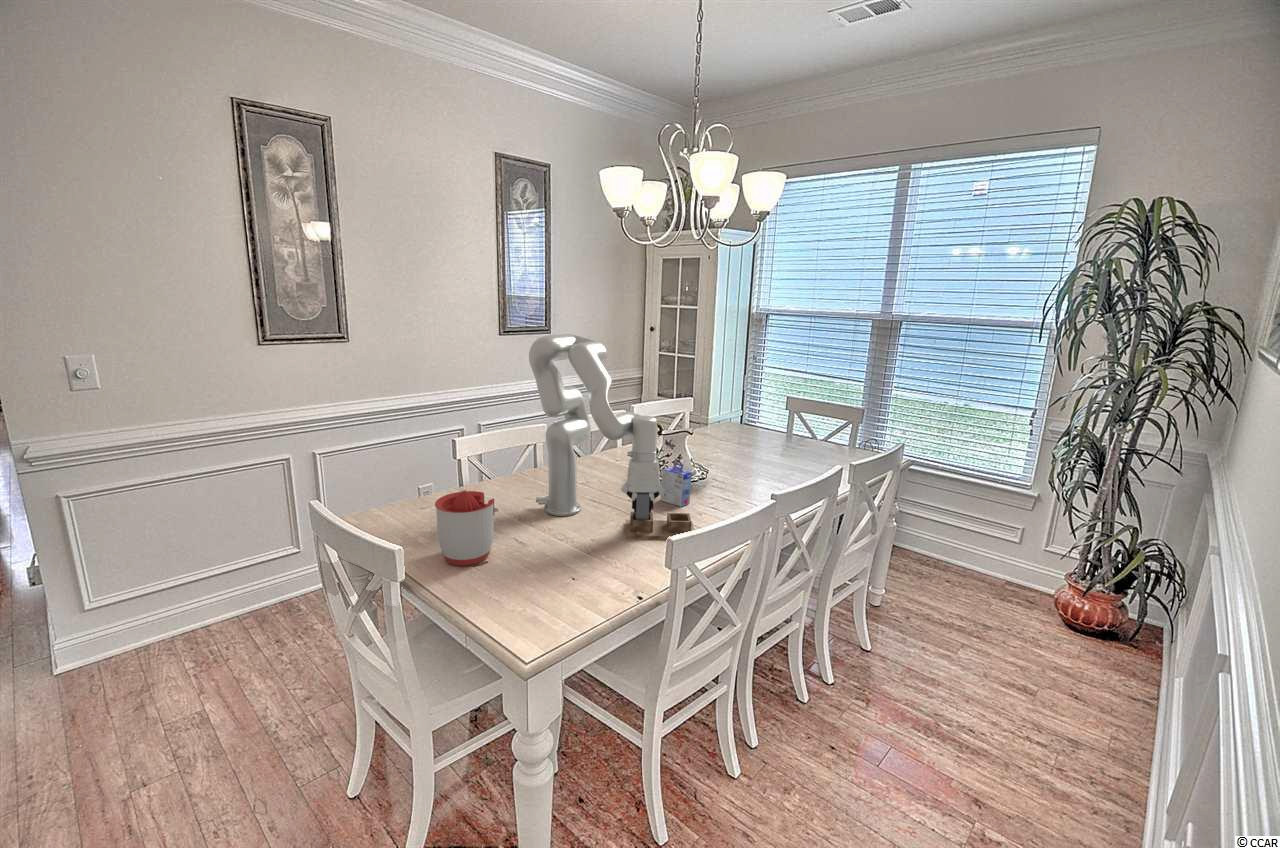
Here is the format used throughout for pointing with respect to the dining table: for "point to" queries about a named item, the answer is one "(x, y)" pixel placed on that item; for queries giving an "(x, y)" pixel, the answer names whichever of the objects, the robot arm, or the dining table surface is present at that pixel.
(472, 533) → the citrus juicer
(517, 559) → the dining table surface
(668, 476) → the ink cartridge box
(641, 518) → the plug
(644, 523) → the socket board
